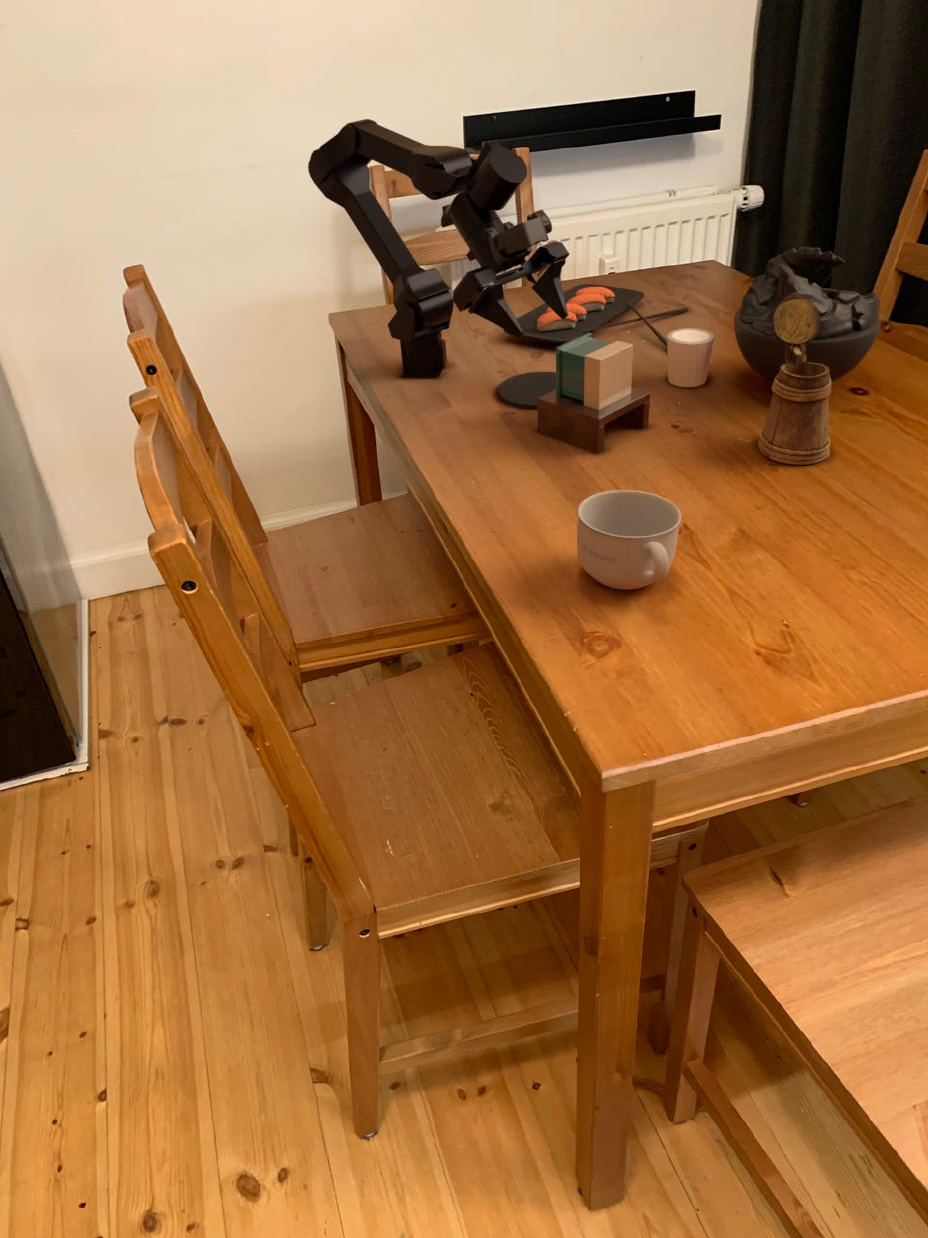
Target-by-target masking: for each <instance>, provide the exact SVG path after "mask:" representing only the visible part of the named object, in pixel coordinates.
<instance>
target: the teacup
mask: <svg viewBox="0 0 928 1238" xmlns="http://www.w3.org/2000/svg"><path fill="white" fill-rule="evenodd" d="M576 515H577V528H576V529H577V531H576V536H577V537H576V551H577V557H578V560H579V563H580V565H581V567H582V568H583V570H584V571H585V572H586V573H587V574H588V575H589V576H591V577H592V578H594V579H595V580H596V581H597V582H599V583H600V584H602V585H603V586H606V587H608V588H611V589H617V590H636V589H642V588H644V587H647V586H650V585H652V584H653V583H659V582H661V581H663V580H665V579H666V578H667V576H668V574H669V570H670V569H671V567H672V564H673V563H674V558H675V554H676V550H677V544H678V537H679V530H680V525H681V524H682V519H683V516H682V513H681V510H680V509H679V507H678V506H677V505H676V504H675V503H673V502H672V501H670V500H669V499H667V498H665V497H663V496H661V495H658V494H654V493H651V492H649V491H642V490H634V489H609V490H605V491H601V492H597V493H594V494H591V495H590V496H588V497H586V498H584V499H583V500H582V501H581V502H580V503H579V505H578V507H577V510H576Z"/></svg>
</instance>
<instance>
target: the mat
mask: <svg viewBox="0 0 928 1238" xmlns="http://www.w3.org/2000/svg"><path fill="white" fill-rule="evenodd" d="M554 390H556V371H531V372H524V373H520V374H516V375H514V376H511V377H508V378H507V379H505V380H503V382H502V381H501V383H500V384H499V386H498V388H497V394H498V395H497V396H498V397H499V398H500V400H501V401H502V402H504V403H506V404H508V405H509V406H513V407H517V408H520V409H529V410H537V398H539V397H541V396H543V395H545V394H548V393H550V392H552V391H554Z"/></svg>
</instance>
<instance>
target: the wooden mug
mask: <svg viewBox="0 0 928 1238" xmlns="http://www.w3.org/2000/svg"><path fill="white" fill-rule="evenodd" d="M772 322H773V333H774V335H775V337H776V338H777V340H778V341H779V342H781V343H782V344H783V345H784V346H785V362H786V364H783V365H782V366H781V367H780V371H779V374H778V375H777V376H776V378H775V380H774V383H772V385H771V391H772V393H773V394H772V398H771V401H770V406H769V409H768V413H767V415H766V419H765V423H764V427H763V428H762V429H761V431H760V433H759V438H758V442H757V448H758V450H759V453H760V454H762V455H763V456H765V457H766V458H768V459H770V460H772V461H775V462H778V463H780V464H781V463H782V464H787V465H812V464H818V463H820V462H822V461H824V460H826V459H827V458H828V457H829V456H830V454H831V440H830V437H829V432H830V431H829V426H830V422H829V421H830V420H829V419H830V416H829V415H830V414H829V413H830V411H829V410H830V394H831V393H832V382H831V378H830V369H829V368H828V367H827V366H826V365H823V364H819V363H812V362H806V360H807V351H806V345H807V344H808V343H809V342H811V341H812V340H813V339H814V338H815V336H816V335H817V334H818V331H819V325H820V316H819V312H818V310H817V308H816V306H815V305H814V303H813V302H812V301H811V300H809V299H808V298H807V297H805V296H803V295H802V294H800V293H798V292H794V293H792V294H791V295H789V296H788V297H786V298H785V299H784V300H783V301H781V302H780V303H779V304H778V305H777V307H776V308H775V310H774V313H773V319H772Z"/></svg>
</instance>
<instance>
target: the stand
mask: <svg viewBox="0 0 928 1238" xmlns="http://www.w3.org/2000/svg"><path fill="white" fill-rule="evenodd" d="M650 398H651V393H650V392H649V391H646V390H643V389H641V388H640V389H639V388H636V387H633V386H631V394H630V395H628V396H626V397H624V398H622V399H620V400H618V401H616V402H614V403H612V404H610V405H609V406H607V407H605V408H603V409H601V410H596V409H593V408H590V407H587V406H584V401H581V400H578V399H575V398H572V397H569V396H566V395H563V396H561V397H556V390H554V391H552V392H550V393H548V394H545V395H543V396H541V397H539V398H537V409H536V411H537V413H536V414H537V432H538V433H541V434H544V435H546V436H549V437H552V438H555V439H557V440H560V441H563V442H565V443H569V444H571V445H574V446H576V447H579V448H583V449H585V450H588V451H591V452H593V453H596V454H600V453H601V452H603V451H604V450H605V425H606V424H608V423H610V422H611V421H614V420H616V421H618V422H622V423H624V424H626V425H627V424H628V425H630V426H633V427H637V428H640V429H642V430H644V429H645V428H648V426H649V419H650V403H651V402H650V400H651V399H650Z"/></svg>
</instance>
